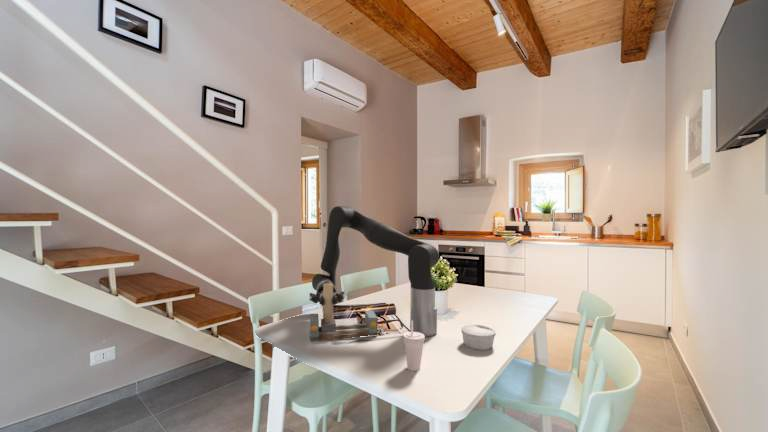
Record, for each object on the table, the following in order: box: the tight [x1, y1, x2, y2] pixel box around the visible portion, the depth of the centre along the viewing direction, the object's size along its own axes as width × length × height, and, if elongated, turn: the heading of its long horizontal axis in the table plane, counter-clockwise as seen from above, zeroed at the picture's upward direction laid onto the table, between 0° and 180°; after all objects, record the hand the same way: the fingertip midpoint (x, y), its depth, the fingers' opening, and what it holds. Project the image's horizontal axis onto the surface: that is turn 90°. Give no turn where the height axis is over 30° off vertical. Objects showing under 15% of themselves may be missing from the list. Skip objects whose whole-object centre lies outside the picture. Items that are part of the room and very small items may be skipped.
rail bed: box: [312, 323, 378, 342], centre depth 128 cm, size 24×9×2 cm, turn 103°
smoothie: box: [402, 320, 426, 372], centre depth 101 cm, size 6×6×14 cm
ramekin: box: [461, 324, 496, 351], centre depth 119 cm, size 11×11×5 cm
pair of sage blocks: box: [309, 310, 378, 342], centre depth 127 cm, size 24×9×7 cm, turn 103°
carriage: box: [320, 283, 337, 332], centre depth 126 cm, size 5×7×16 cm
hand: (328, 302), depth 123 cm, fingers closed on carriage, 3 cm apart
